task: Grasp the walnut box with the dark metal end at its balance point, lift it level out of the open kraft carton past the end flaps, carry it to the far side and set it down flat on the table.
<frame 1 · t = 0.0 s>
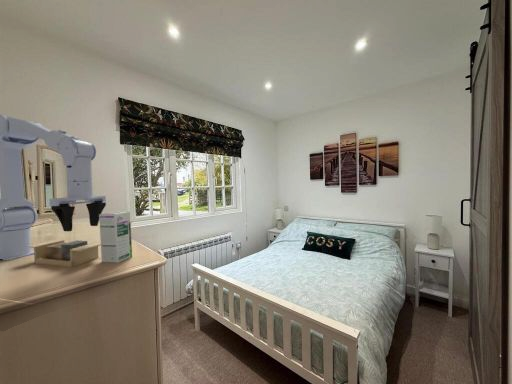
hand: (81, 228, 64), 10 cm above the table, tool pointing down, fingers open, 7 cm apart
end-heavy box: (67, 260, 66), touching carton
syrup box: (117, 260, 66), on the table
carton: (67, 260, 66), on the table
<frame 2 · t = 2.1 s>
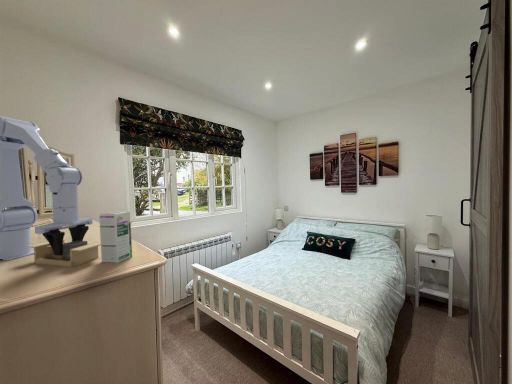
hand: (67, 252, 65), 3 cm above the table, tool pointing down, fingers closed on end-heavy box, 4 cm apart
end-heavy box: (67, 260, 66), touching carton, gripper
everything else where it was.
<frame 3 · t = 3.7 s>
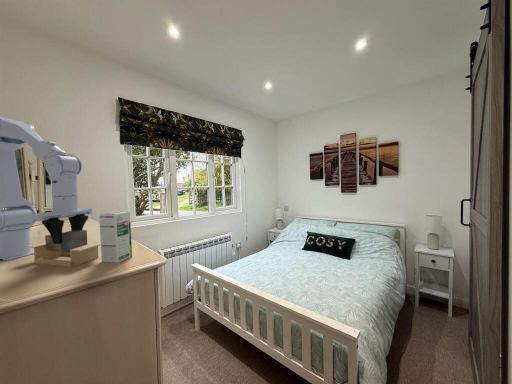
hand: (67, 241, 65), 6 cm above the table, tool pointing down, fingers closed on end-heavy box, 4 cm apart
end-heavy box: (67, 249, 66), point 4 cm above the table, touching gripper
everything else where it was.
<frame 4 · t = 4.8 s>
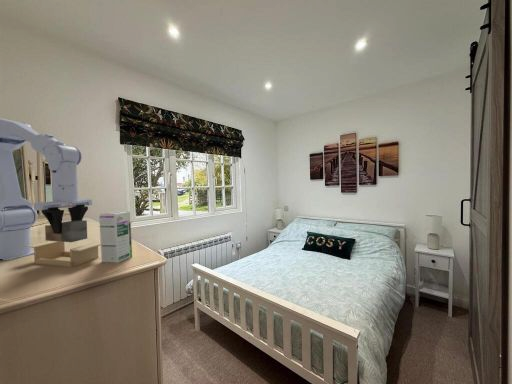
hand: (67, 231, 65), 9 cm above the table, tool pointing down, fingers closed on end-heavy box, 4 cm apart
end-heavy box: (66, 239, 65), point 6 cm above the table, touching gripper
everything else where it was.
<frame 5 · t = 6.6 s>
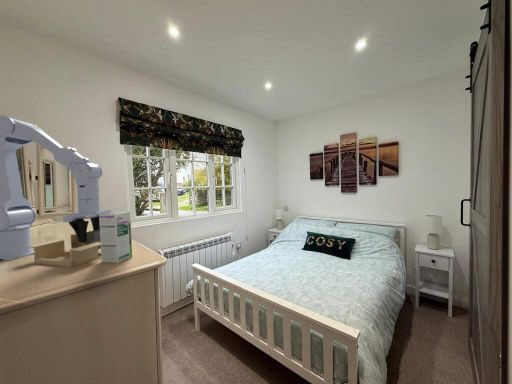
hand: (90, 240, 72), 5 cm above the table, tool pointing down, fingers closed on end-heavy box, 4 cm apart
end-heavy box: (90, 247, 72), point 2 cm above the table, touching gripper
everything else where it was.
when the fingers open (4 cm above the table, at t = 7.7 s): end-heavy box drops 1 cm, on the table.
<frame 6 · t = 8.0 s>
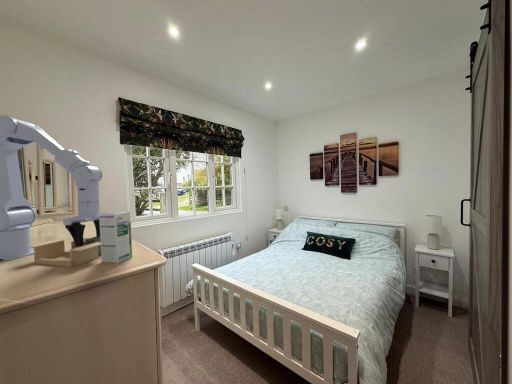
hand: (90, 242, 72), 4 cm above the table, tool pointing down, fingers open, 7 cm apart
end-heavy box: (90, 253, 73), on the table
everything else where it was.
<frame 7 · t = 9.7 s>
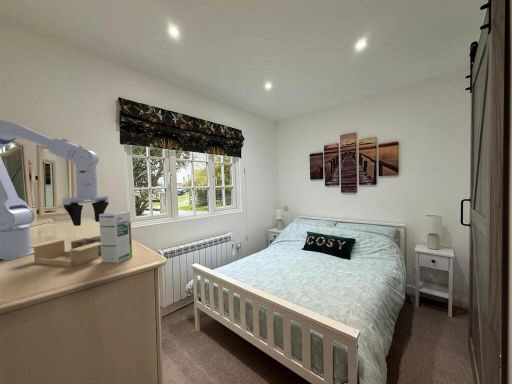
hand: (88, 223, 76), 9 cm above the table, tool pointing down, fingers open, 7 cm apart
nothing on the table moved.
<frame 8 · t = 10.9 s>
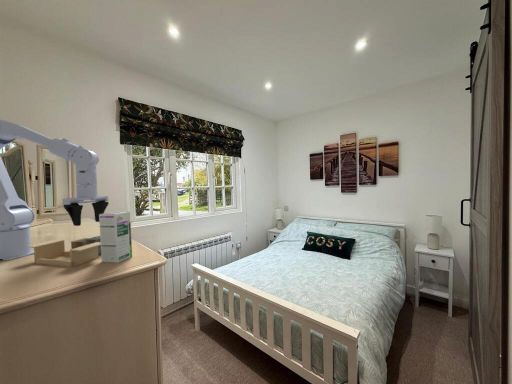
hand: (88, 223, 76), 9 cm above the table, tool pointing down, fingers open, 7 cm apart
nothing on the table moved.
at the end: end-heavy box inside the target area (0.3 cm from its centre), on the table; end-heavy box tilted 0°; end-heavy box touching table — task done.
